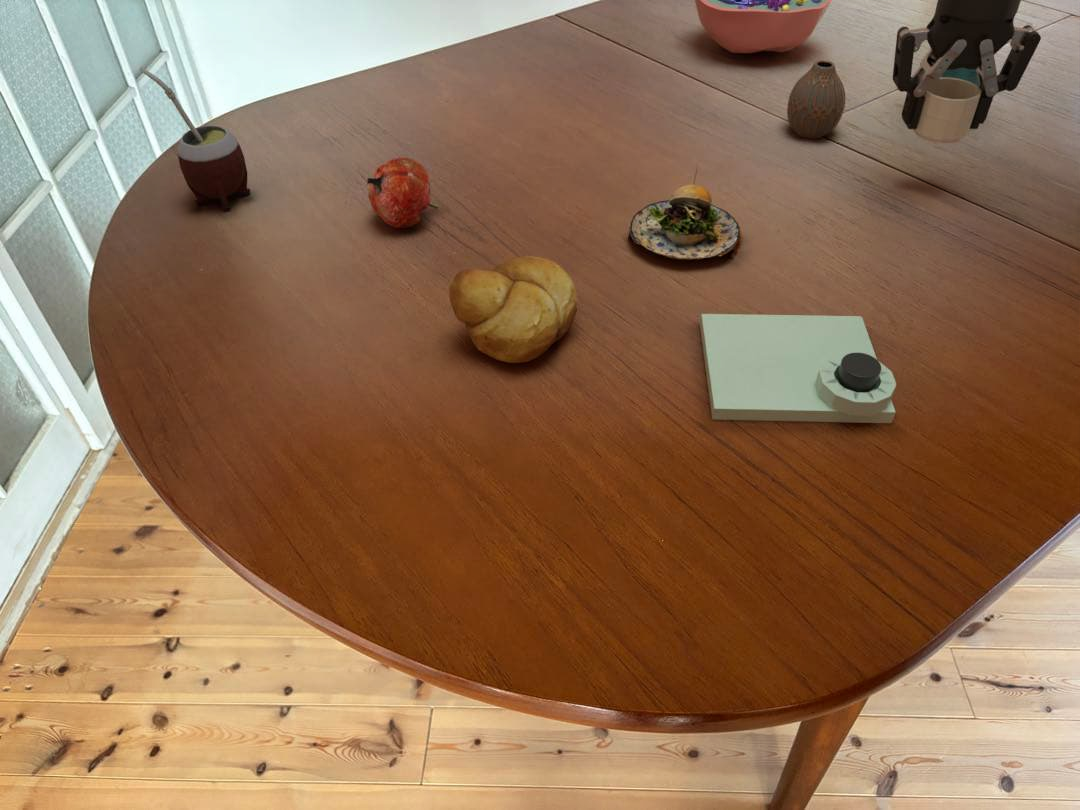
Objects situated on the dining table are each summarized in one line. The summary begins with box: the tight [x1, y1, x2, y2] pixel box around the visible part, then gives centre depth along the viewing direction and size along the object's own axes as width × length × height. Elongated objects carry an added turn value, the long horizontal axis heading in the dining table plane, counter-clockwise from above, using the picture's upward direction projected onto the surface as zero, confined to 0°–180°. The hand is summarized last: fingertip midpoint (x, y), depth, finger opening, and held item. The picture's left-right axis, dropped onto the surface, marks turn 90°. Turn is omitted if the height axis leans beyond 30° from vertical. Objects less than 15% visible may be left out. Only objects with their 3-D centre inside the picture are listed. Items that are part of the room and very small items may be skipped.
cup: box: [912, 77, 982, 144], centre depth 94 cm, size 6×6×5 cm
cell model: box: [694, 0, 833, 54], centre depth 126 cm, size 17×20×11 cm
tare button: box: [837, 353, 881, 393], centre depth 72 cm, size 3×3×2 cm
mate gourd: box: [139, 67, 251, 213], centre depth 96 cm, size 8×8×15 cm
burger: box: [627, 168, 742, 261], centre depth 90 cm, size 12×12×8 cm
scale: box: [699, 313, 897, 424], centre depth 76 cm, size 15×14×3 cm
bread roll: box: [448, 255, 579, 364], centre depth 79 cm, size 13×10×8 cm
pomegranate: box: [366, 157, 439, 229], centre depth 95 cm, size 7×7×10 cm
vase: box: [786, 59, 846, 139], centre depth 108 cm, size 7×7×9 cm
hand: (940, 125), depth 95 cm, fingers closed on cup, 6 cm apart
